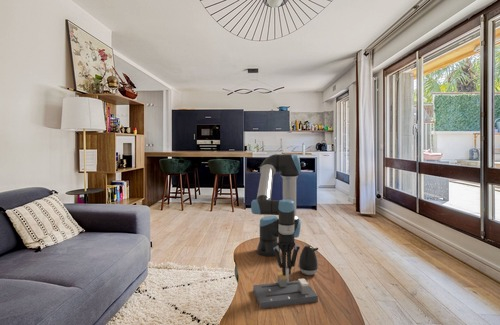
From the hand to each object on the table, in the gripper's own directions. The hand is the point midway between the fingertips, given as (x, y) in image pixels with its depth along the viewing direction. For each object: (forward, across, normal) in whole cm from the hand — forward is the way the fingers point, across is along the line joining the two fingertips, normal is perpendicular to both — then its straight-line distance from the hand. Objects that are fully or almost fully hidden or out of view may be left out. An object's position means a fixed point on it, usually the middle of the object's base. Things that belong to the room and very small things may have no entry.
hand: (286, 281), depth 127 cm
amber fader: (+1, -2, 0) cm, 3 cm away
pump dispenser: (+4, +18, +14) cm, 23 cm away
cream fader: (+1, +5, -8) cm, 10 cm away
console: (+4, -3, -5) cm, 7 cm away
